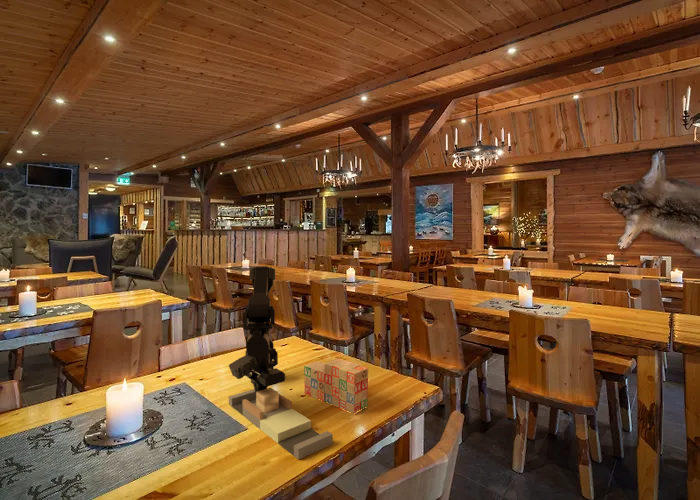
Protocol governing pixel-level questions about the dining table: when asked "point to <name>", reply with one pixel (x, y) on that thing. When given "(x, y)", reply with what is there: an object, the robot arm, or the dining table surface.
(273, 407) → the maple block
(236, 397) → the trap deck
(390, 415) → the dining table surface
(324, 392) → the stack of blocks
